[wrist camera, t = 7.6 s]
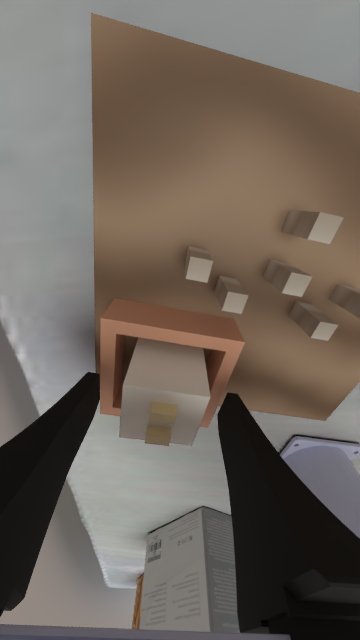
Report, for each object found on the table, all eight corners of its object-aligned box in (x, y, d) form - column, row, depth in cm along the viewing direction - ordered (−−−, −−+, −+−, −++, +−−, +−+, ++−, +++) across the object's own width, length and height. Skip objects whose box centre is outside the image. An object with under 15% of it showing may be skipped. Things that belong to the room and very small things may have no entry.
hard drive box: (180, 541, 39) (179, 812, 22) (146, 532, 37) (115, 827, 19) (239, 516, 33) (303, 867, 15) (202, 504, 31) (231, 899, 13)
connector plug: (188, 378, 16) (192, 457, 11) (136, 370, 15) (115, 448, 10) (201, 336, 14) (212, 408, 9) (142, 326, 13) (119, 396, 8)
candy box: (152, 580, 54) (142, 702, 41) (136, 579, 54) (121, 702, 40) (160, 572, 50) (153, 705, 37) (144, 570, 50) (130, 705, 36)
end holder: (204, 398, 17) (208, 427, 15) (111, 385, 16) (100, 413, 14) (234, 319, 13) (245, 342, 11) (114, 297, 12) (100, 318, 10)
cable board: (315, 406, 19) (344, 450, 16) (102, 375, 18) (82, 417, 14) (511, 159, 10) (683, 136, 7) (105, 42, 8) (51, -72, 5)
